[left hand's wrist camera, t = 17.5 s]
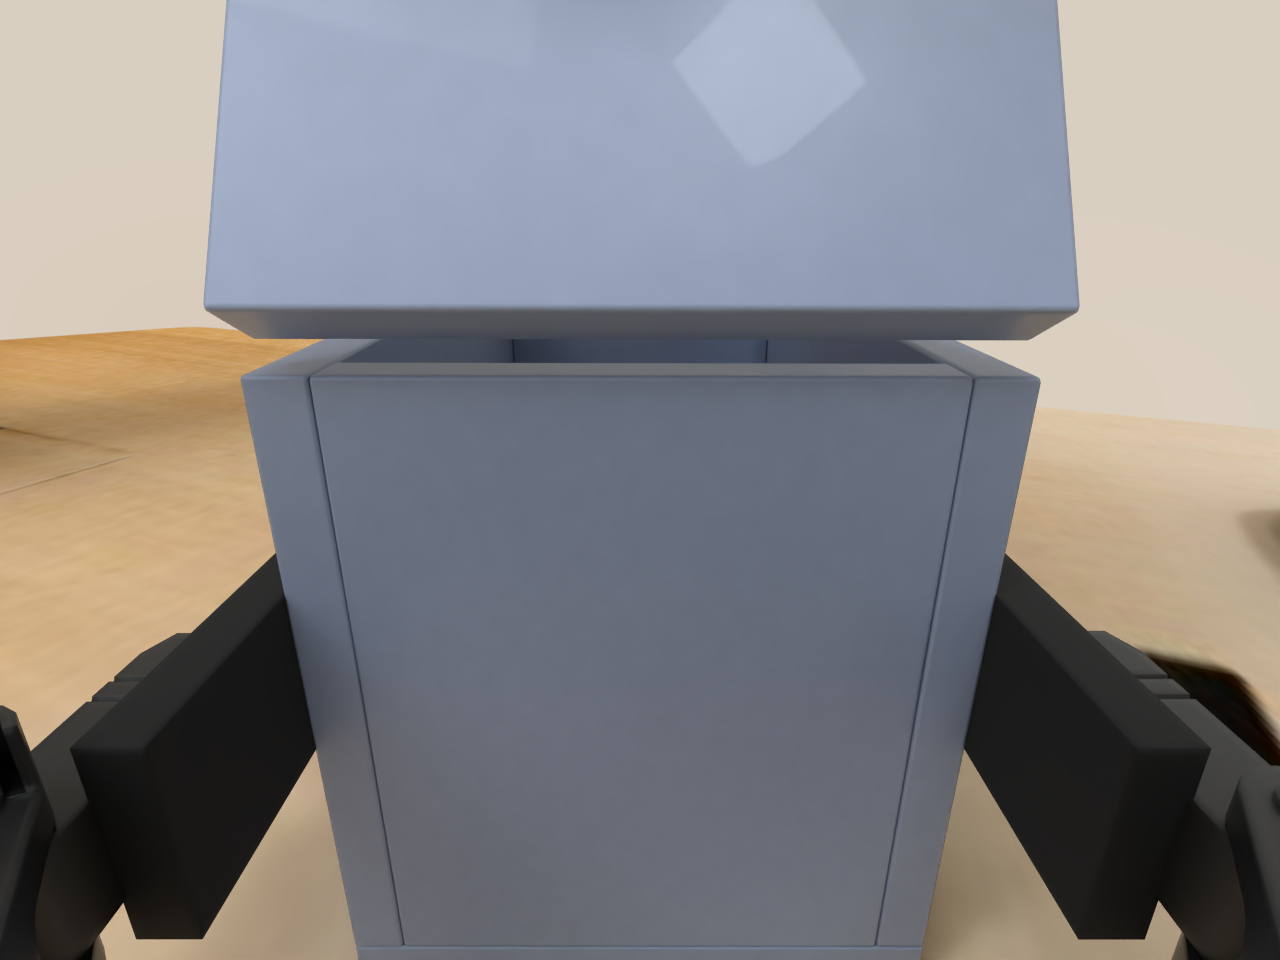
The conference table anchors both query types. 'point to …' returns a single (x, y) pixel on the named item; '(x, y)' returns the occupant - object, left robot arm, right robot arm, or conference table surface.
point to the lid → (642, 170)
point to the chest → (639, 632)
